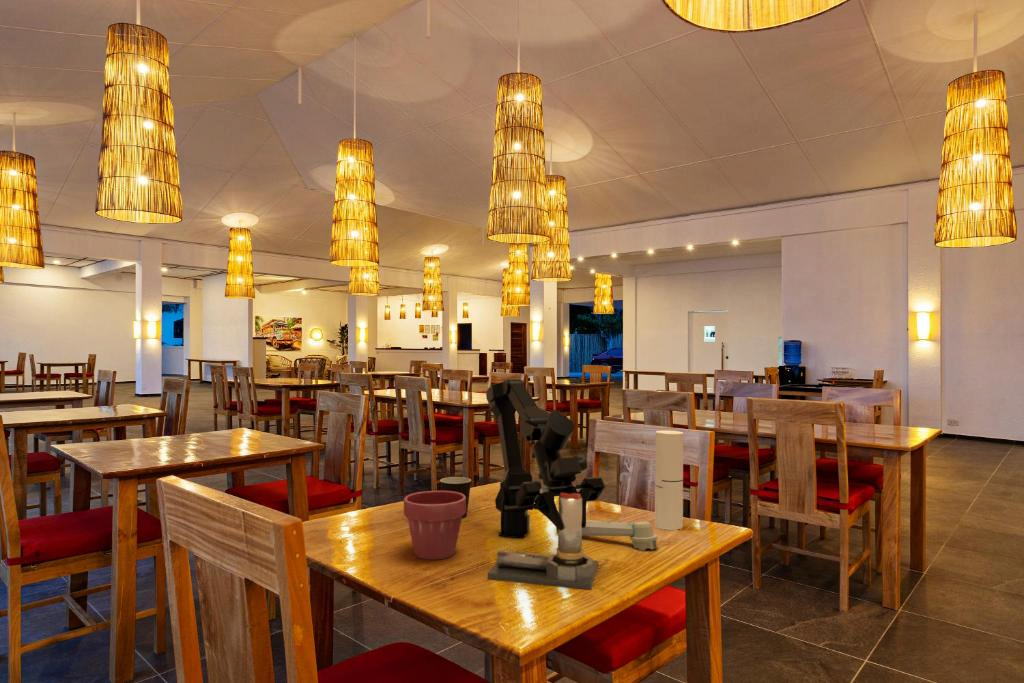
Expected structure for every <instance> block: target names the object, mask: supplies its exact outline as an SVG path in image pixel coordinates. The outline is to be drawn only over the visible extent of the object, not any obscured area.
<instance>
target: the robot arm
mask: <svg viewBox="0 0 1024 683" xmlns="http://www.w3.org/2000/svg"><path fill="white" fill-rule="evenodd" d="M485 393H486V395H485V396H486V401H487V402H488V406H489V410H490V412H491V413H492V414H493V415H494V417H495V418H496V419H497V424H498V425H497V426H498V431H499V432H498V433H499V438H500V448H501V454H502V461H503V462H502V463H503V469H504V474H503V475H502V478H501V481H500V482H499V487H500V488H499V490H498V493H497V495H496V497H495V500H494V504H495V509H496V510H497V511H498V512H500V532H499V533H498V536H499V537H506V538H507V537H509V538H518V539H524V538H525V537H526V536H527V535H528V533H529V532H530V529H531V528H530V526H531V525H530V524H531V522H530V521H531V520H530V519H531V518H530V517H531V516H530V514H529V513H528V511H533V510H537V511H539V512H540V513H541V514H543V516H545V518H547V519H548V520H549V521H550V522H551V523H552V524H553V525H554V526H555V528H556V527H557V528H558V529H559V530H560V531H561V530H562V529H563V525H562V521H561V518H560V515H559V509H558V508H557V504H556V502H555V497H559V496H560V495H561V492H563V491H564V492H570V493H576V494H581V497H582V528H585V527H586V520H587V502H595V501H597V500H598V499H599V498H600V496H601V494H603V491H604V490H605V489H606V484H605V481H604V479H602V477H600V476H592V477H591V476H590V477H589V476H588V477H584V478H583V480H582V481H581V483H580V484H573V482H575V481H576V479H577V477H576V475H578V474H581V473H582V471H586V470H587V469H588V461H587V458H586V457H585V454H584V453H582V454H579V453H578V454H575V455H574V456H573V457H571V456H569V457H563V455H562V453H561V451H562V450H563V449H565V447H566V446H567V443H568V442H569V440H570V438H571V436H572V434H573V432H574V430H575V423H574V422H573V421H572V420H571V419H570V418H569V417H568V416H566V415H564V414H562V413H561V411H560V410H551V412H550V413H549V412H548V411H547V410H545V409H542V408H540V407H539V406H538V404H537V403H536V401H535V400H534V398H533V397H532V395H531V393H530V392H529V390H528V389H527V388H526V384H525V380H523V379H519V378H518V379H515V378H514V379H513V378H512V379H511V378H509V379H505V380H503V381H502V382H499V383H496V384H491V385H490V386H489V387H488V388H487V390H486V392H485ZM516 413H517V415H518V416H519V418H520V420H521V423H520V432H521V435H522V436H523V439H525V441H526V442H535V443H534V444H533V446H532V451H531V458H532V459H535V461H536V463H537V467H538V470H539V473H538V479H539V480H541V481H542V483H543V485H542V484H541V481H538V480H537V481H535V480H534V481H533V476H532V473H531V472H527V471H526V470H525V468H524V466H523V459H522V452H521V447H520V446H521V445H520V438H519V433H518V426H517V418H516Z"/></svg>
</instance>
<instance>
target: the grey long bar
mask: <svg viewBox="0 0 1024 683" xmlns="http://www.w3.org/2000/svg"><path fill="white" fill-rule="evenodd" d="M555 528H556V533H557V534H558V528H557V527H556V526H555ZM583 536H584V537H585V536H588V537H589V536H591V537H595V536H596V537H605V536H606V537H629V538H630V539H629V540H631V541H632V547H633V548H634V549H638V550H639V551H646V550H647V549H650V550H655V549H657V547H658V544H657V540H658V539H659V538H658V536H659V535H658V534H656V533H654V530H653V526H652V524H651V523H650V522H649V521H637V522H633V523H631V522H621V521H619V522H618V521H617V522H616V521H604V520H591V519H586V527H585V528H582V537H583Z"/></svg>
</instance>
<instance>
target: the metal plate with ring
mask: <svg viewBox="0 0 1024 683" xmlns="http://www.w3.org/2000/svg"><path fill="white" fill-rule="evenodd" d="M598 567H599V560H595V559H594V558H593V557H590V556H587V555H586V554H584V553H583V561H582V562H579V563H563V562H560V561H558V560H557V559H556V553H554V554H543V553H542V554H539V553H528V552H518V551H516V552H515V551H509V550H508V551H507V550H498V552H497V556H496V562H495V563H494V565H492V566H491V568H490V569H489V571H487V579H488V580H495V581H496V580H497V581H503V582H513V581H514V583H522V582H523V583H522V584H532V583H533V585H541V584H544V585H543V586H552V587H562V588H571V589H572V588H573V589H578V590H579V589H582V590H592V587H593V584H594V581H595V577H596V573H597V570H598Z"/></svg>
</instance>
